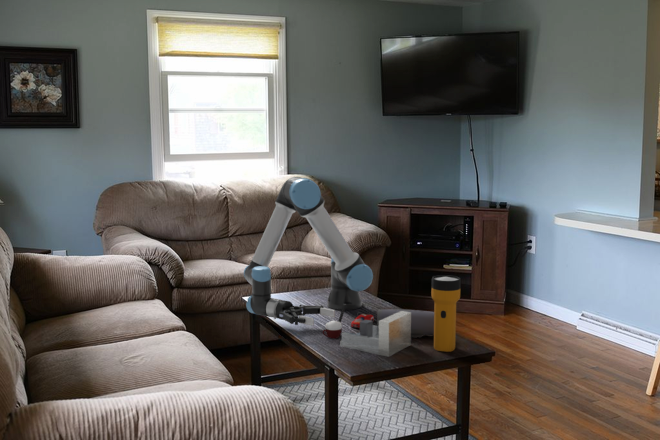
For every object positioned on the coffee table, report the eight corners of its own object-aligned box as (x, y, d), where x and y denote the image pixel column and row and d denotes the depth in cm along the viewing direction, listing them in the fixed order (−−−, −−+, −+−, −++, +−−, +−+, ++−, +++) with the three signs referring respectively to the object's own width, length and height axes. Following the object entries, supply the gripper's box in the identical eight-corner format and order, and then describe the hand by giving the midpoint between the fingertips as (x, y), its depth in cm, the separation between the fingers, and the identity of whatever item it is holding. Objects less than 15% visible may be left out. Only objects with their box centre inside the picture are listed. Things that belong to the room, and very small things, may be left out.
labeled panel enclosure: (363, 335, 258) (363, 304, 257) (410, 344, 247) (411, 312, 245) (340, 346, 245) (340, 314, 244) (388, 356, 234) (388, 322, 232)
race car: (360, 330, 265) (360, 320, 265) (348, 328, 268) (348, 318, 268) (376, 322, 277) (376, 312, 276) (364, 320, 279) (364, 310, 279)
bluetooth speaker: (439, 333, 260) (439, 308, 258) (437, 341, 251) (438, 314, 249) (379, 330, 264) (379, 305, 263) (376, 337, 255) (376, 311, 254)
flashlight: (462, 275, 242) (457, 281, 233) (461, 345, 245) (456, 354, 236) (435, 273, 245) (428, 278, 236) (433, 342, 249) (427, 351, 240)
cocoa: (323, 341, 253) (321, 309, 251) (322, 335, 259) (320, 304, 257) (348, 339, 254) (347, 308, 252) (346, 333, 260) (345, 303, 258)
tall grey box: (365, 335, 250) (365, 319, 250) (372, 336, 249) (372, 320, 248) (359, 338, 247) (359, 322, 246) (366, 339, 246) (366, 323, 245)
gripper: (300, 311, 280) (342, 319, 268) (259, 326, 260) (304, 335, 247) (299, 293, 279) (342, 301, 267) (259, 306, 259) (303, 315, 246)
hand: (324, 317), depth 257 cm, fingers open, 13 cm apart
